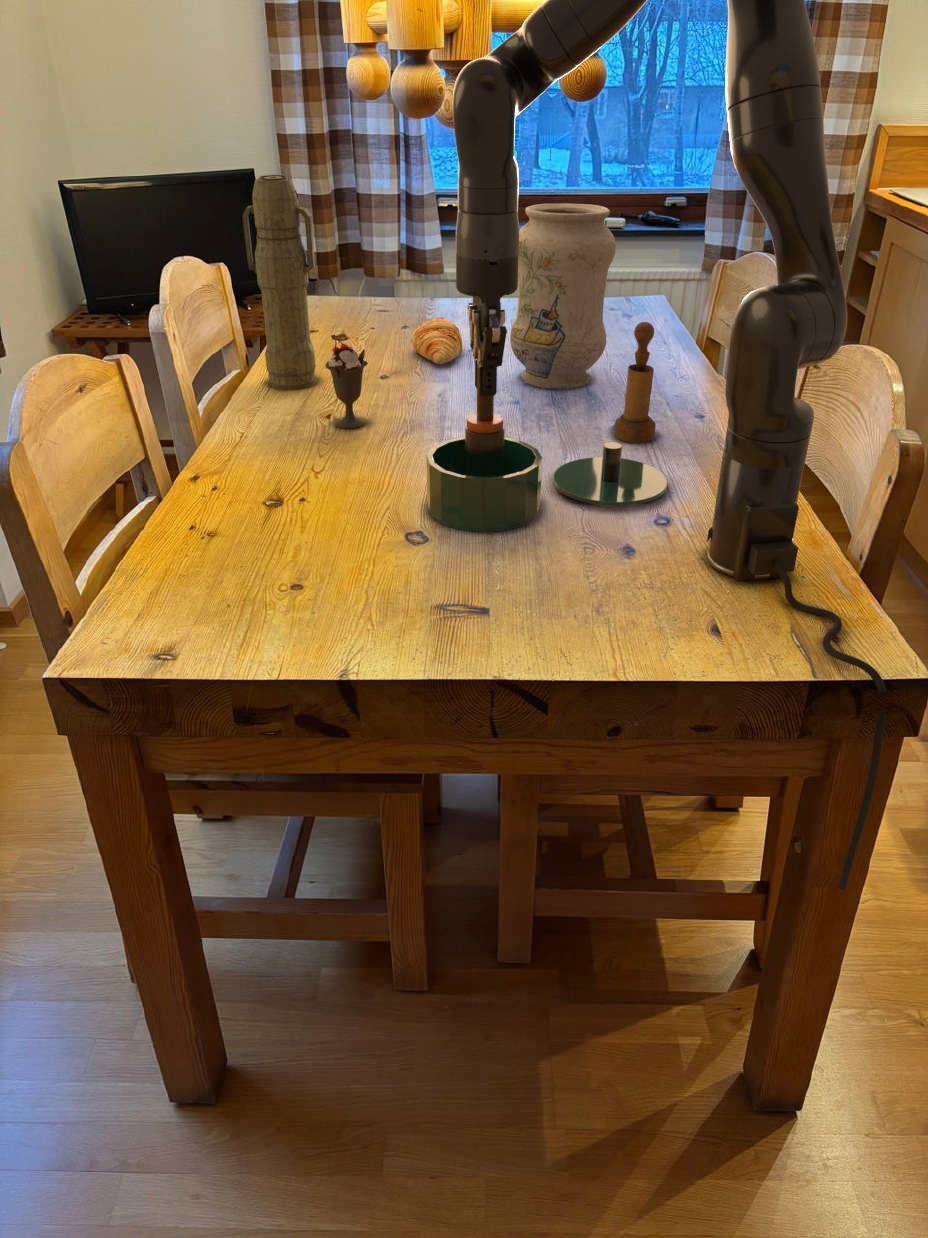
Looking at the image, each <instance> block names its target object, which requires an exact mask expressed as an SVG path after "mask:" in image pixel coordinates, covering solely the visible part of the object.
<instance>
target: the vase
mask: <svg viewBox="0 0 928 1238" xmlns="http://www.w3.org/2000/svg"><path fill="white" fill-rule="evenodd" d="M610 212H611V210H610V209H608V208H607V207H605V206H602V205H598V204H589V203H588V204H586V203H540V204H539V203H538V204H533V205H530V206H526V207H525V215H527V217H528V222H527V223H526V224H524V225H523V226H522V227H521V228H519V261H518V288H517V292H518V293H517V311H516V318H515V320H514V321H513V323H512V326H511V330H510V337H509V342H510V347H511V350H512V353H513V355H514V356H515V358H516V359H517V361H518V362H520V364H522V366H523V367H524V368H525V369H524V371H523V372H521V379H522V380H523V381H524V383H526V384H529V385H531V386H534V387H538V388H539V387H540V388H544V389H551V390H552V389H553V390H559V389H560V390H564V389H565V390H566V389H573V388H578V387H583V386H585V385H587V384H588V383H589V382H590V380H591V375H590V374H589V373H588V372H587V371H588V370H589V369H591V368H592V367H593V366H594V365H595V364H596V363H597V362H598V360H600V358H601V357H602V355H603V354H604V351H605V350H606V347H607V332H606V328H605V324H604V302H605V294H606V291H607V290H606V289H607V281H608V275H609V268H610V267H611V265H612V263H613V261H614V258H615V255H616V250H617V249H616V247H617V246H616V239H615V236H614V234H613V233H612V231H611V230H610V229H609V227H607V226H606V224H605V220H606V219H607V218H608V217H609V216H610Z"/></svg>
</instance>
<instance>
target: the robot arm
mask: <svg viewBox="0 0 928 1238" xmlns="http://www.w3.org/2000/svg"><path fill="white" fill-rule="evenodd" d="M647 1H648V0H544V1H543V2H542V3H541V4H540V5H538V6H537V7H536V8H535V9H534V10H533V11H532V12H531V13H530V14H529V15H528V17H527V18H526V19H524V21H523V23H522V24H521V27H520V28H519V29H518V30H516V31H515V32H514V33H512V34H511V35H510V36H508V38H506V39H505V40H504V41H503V42H501V43H500V44H499V45H498V46H497V47H495V48H494V49H492V50H491V51H490V52H489V53H487V54H486V55H484V57H479V58H476V59H473V60H471V61H469V62H468V63H467V64H465V66H464V67H462V69H461V70H460V72H459V73H458V75H457V76H456V79H455V82H454V85H453V92H452V121H453V133H454V139H455V146H456V147H455V148H456V156H457V163H458V174H457V219H456V225H455V288H456V290H457V291H458V293H460V294H462V295H464V296H469V297H472V302H468V304H467V314H468V315H467V316H468V322H469V323H468V324H469V338H470V343H469V344H470V345H469V347H470V349H471V350H472V357H473V359H474V387H475V388H476V389H477V349H478V365H479V394H480V395H481V396H494V397H495V396H496V395H497V392H498V390H497V389H498V367H502V365H503V362H504V352H505V346H506V339H507V334H508V329H507V326H506V325H505V323H506V311H505V310H506V309H505V308H502V303H501V299H502V298H503V297H504V296H510V295H513V294H515V292H516V291H518V261H519V230H520V223H519V211H518V210H519V183H520V182H519V180H520V179H519V178H520V177H519V166H518V165H519V164H518V162H517V160H516V157H515V134H516V133H515V131H516V130H515V129H516V128H515V127H516V117H517V116H519V115H520V114H521V113H522V112H523V111H524V110H526V108H528V107H529V106H530V105H531V104H532V103H533V102H534V101H536V100H537V99H538V98H539V97H540V96H541V95H542V94H543V93H545V92H546V90H547V89H549V87H551V86H552V85H553V84H554V83H555V82H557V80H560V79H562V78H563V77H565V76H566V75H568V74H570V73H571V72H572V71H574V70H575V69H576V68H577V67H578V66H580V65H581V64H583V63H584V62H585V61H586V60H587V59H589V58H590V57H591V56H593V55H594V54H595V53H596V52H598V51H599V50H600V49H601V48H603V47H604V46H605V45H606V44H607V43H608V42H609V41H610V40H612V39H613V38H614V37H615V36H616V35H617V34H618V33H620V32H621V30H623V29H624V27H625V26H626V25H627V24H628V23H629V22H630V21H631V20H632V19H633V18H634V17H635V16H636V14H637V13H638V12H639V11H640V10H641V9H642V7H643V6H644V5H645V4H646V3H647ZM726 1H727V35H726V52H725V104H726V105H725V107H726V113H727V114H726V115H727V125H728V134H729V135H728V136H729V142H730V143H729V146H730V153H731V157H732V162H733V165H734V168H735V170H736V172H737V175H738V177H739V180H740V181H741V183H742V185H743V187H744V189H745V191H746V192H747V194H748V196H749V197H750V199H751V201H752V203H753V204H754V206H755V207H756V209H757V211H758V212H759V214H760V216H761V217H762V219H763V221H764V223H765V225H766V228H767V230H768V232H769V235H770V238H771V241H772V246H773V251H774V259H775V265H776V266H775V267H776V278H777V280H776V281H777V283H776V284H772V285H767V286H762V287H759V288H757V289H754V290H752V291H750V292H749V293H748V294H747V295H746V296H745V297H744V298H743V300H742V301H741V302H740V304H739V306H738V307H737V310H736V312H735V314H734V317H733V321H732V325H731V329H730V337H729V344H728V345H729V346H728V357H727V367H726V368H727V369H726V376H725V377H726V379H725V389H724V392H725V403H726V407H727V411H728V418H727V419H728V420H727V424H726V425H727V426H726V432H725V438H724V446H723V451H722V456H721V457H722V459H721V465H720V471H719V478H718V484H717V491H716V497H715V504H714V505H715V506H714V512H713V518H712V525H711V527H710V528H709V530H708V532H707V538H706V543H708V542H709V546H708V549H707V553H706V559H707V562H708V563H709V565H710V566H711V567H712V568H713V569H715V570H717V571H719V573H722V574H725V575H728V576H731V577H733V578H734V579H735V581H737V582H742V581H743V582H744V581H751V580H752V581H755V580H767V579H779V578H780V579H781V581H782V583H783V587H784V595H785V598H786V601H787V602H788V603H789V604H790V605H791V606H792V607H793V608H795V609H796V610H799V611H801V612H803V613H808V614H810V615H815V616H819V617H824V618H827V619H829V620H830V621H832V623H833V625H832V627H831V628H830V629H829V631H827V632H826V633H825V634H824V636H823V638H822V641H821V643H822V647H823V649H824V651H825V652H826V653H827V654H828V655H829V656H831V657H832V658H834V659H836V660H839V661H841V662H843V663H846V664H849V665H852V666H853V667H857V668H858V669H860V670H863V671H864V672H865V673H866V674H868V675H869V677H870V678H871V679H872V682H874V685H875V686H876V689H877V690H878V692H880V693H882V694H886V693H887V692H888V690H887V686H886V684H885V681H884V680H883V678H882V676H881V675H880V673H879V672H878V671H877V670H876V669H875V668H874V667H873V666H872V665H871V664H870V663H867V662H866V661H864V660H862V659H860V658H858V657H855V656H852V655H850V654H846V653H844V652H841V651H839V650H837V649H836V648H834V646H833V645H832V644H831V643H832V639H834V637H836V636H837V635H838V633H839V632H840V631H841V629H842V627H843V622H842V620H841V618H840V616H839V615H837V613H835V612H832V611H830V610H828V609H824V608H819V607H814V606H811V605H810V606H809V605H807V604H804V603H801V602H800V601H798V600H797V599H796V598H795V596H794V594H793V586H792V581H791V579H790V577H789V575H788V573H794V571H795V566H796V562H797V556H798V551H799V547H798V546H797V545H796V544H795V543H794V534H795V530H796V524H797V519H798V515H799V509H800V506H799V504H798V500H799V494H800V490H801V485H802V480H803V474H804V469H805V464H806V459H807V456H808V455H807V454H808V449H809V445H810V439H811V435H812V430H813V425H814V421H815V420H814V419H815V412H814V408H813V407H812V406H811V405H810V404H809V403H808V402H807V401H805V400H804V399H801V398H799V397H796V385H797V377H798V370H801V369H805V368H809V367H813V366H816V365H820V364H823V363H824V362H827V361H829V360H830V359H832V358H833V357H834V356H835V355H836V354H837V353H838V351H840V348H841V347H842V345H843V343H844V341H845V337H846V333H847V328H848V327H847V326H848V308H847V307H848V305H847V299H846V293H845V287H844V281H843V276H842V271H841V266H840V265H841V264H840V260H839V255H838V249H837V245H836V239H835V233H834V226H833V225H834V224H833V219H832V211H831V198H830V189H829V188H830V187H829V179H828V169H827V160H826V149H825V148H826V147H825V146H826V145H825V124H824V122H825V121H824V109H823V98H822V97H823V95H822V87H821V86H822V85H821V75H820V67H819V62H818V55H817V50H816V44H815V40H814V33H813V28H812V26H811V21H810V17H809V13H808V9H807V5H806V0H726ZM480 340H483V341H480ZM492 353H494V356H487V355H488V354H492ZM886 720H887V713H884V714H878V715H877V717H876V722H875V727H874V734H873V741H872V749H871V756H870V757H871V758H870V762H869V768H868V774H867V779H866V784H865V789H864V794H863V797H862V801H861V805H860V808H859V812H858V815H857V819H856V821H855V822H856V823H855V826H854V829H853V832H852V836H851V839H850V842H849V846H848V848H847V853H846V855H845V859H844V863H843V867H842V871H841V874H840V878H839V882H838V886H837V887H838V888H839V889H840V890H846V889H847V886H848V885H847V884H848V881H849V876H850V873H851V870H852V866H853V863H854V859H855V856H856V852H857V849H858V846H859V843H860V839H861V836H862V833H863V829H864V826H865V823H866V820H867V816H868V812H869V809H870V806H871V802H872V797H873V793H874V789H875V784H876V780H877V776H878V771H879V770H878V769H879V765H880V758H881V751H882V743H883V738H884V737H883V736H884V730H885V724H886Z"/></svg>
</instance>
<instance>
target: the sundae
mask: <svg viewBox="0 0 928 1238" xmlns="http://www.w3.org/2000/svg"><path fill="white" fill-rule="evenodd" d="M330 337H331V338H332V339H334V342H335V344H334V347H333V348H332V354H331V355H330V357H329V359H328V360H327V362H325V369H328V370H329V371H330V374H331V378H332V383H333V389H334V393H335V396H336V398H337V399H338V400H339V402H341V403H343V404H344V406H345V414H344V417H343V418H339V419H337V420H336V421H335V424H334V425H335V426H336V427H338V428H340V429H346V430H353V429H358V428H361V427H363V426H364V425H365V424H366V422H365V420H364V419H363V418H359V417H356V416H355V414H354V408H353V407H354V406H353V405H354V403H355V402H356V401H358V400H359V398H360V396H361V393H362V387H363V374H364V368H365V367H367V366H368V364H369V363H368V361H366V360H364V359H365V357H366V353H365V352H366V351H365V349H364V348H363V349H362V351H361V352H360V353H359V354H358V351H357V350H355V349H354V347H352V346H348V344H346V343H343V342H342V341H341V340H340V339H339V338H338V337H337V336H336V334H331V335H330ZM337 340H338V341H337ZM337 342H339V343H340V345H339V346H340V347H339V346H337Z"/></svg>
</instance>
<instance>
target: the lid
mask: <svg viewBox="0 0 928 1238" xmlns="http://www.w3.org/2000/svg"><path fill="white" fill-rule="evenodd" d="M602 446H603V447H602V456H597V457H595V456H594V457H586V458H580V459H579V458H578V459H575V460H572V461H568V462H566V463H564V464H562V465H560V466H559V467H558V468H557V469H556V470H555V471H554V472H553V477H552V481H553V485H554V487H555V488H556V489H557V490H558V491H559V492H560V493H561V494H563V495H565V496H566V497H569V498H571V499H573V500H576V501H579V502H583V503H586V504H591V505H598V506H607V507H608V506H609V507H628V506H629V507H630V506H637V505H641V504H642V505H643V504H647V503H650V502H652V501H654V500H657V499H659V498H660V497H662V496H663V495H664V494H665V492H666V491H667V488H668V479H667V477H666V476H665V474H664V473H663V472H662V471H660V470H659V469H657V468H655V467H654V466H652V465H650V464H647V463H644V462H641V461H637V460H633V459H627V458H623V457H622V452H623V444H621V443H619V442H614V441H610V442H606V443H604V444H603V445H602Z"/></svg>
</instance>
